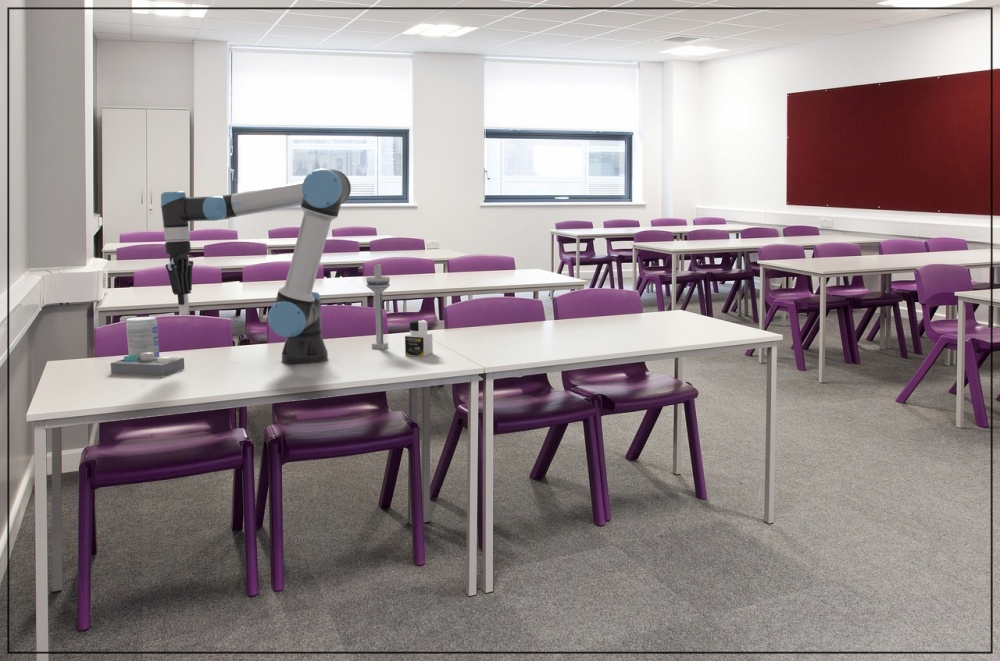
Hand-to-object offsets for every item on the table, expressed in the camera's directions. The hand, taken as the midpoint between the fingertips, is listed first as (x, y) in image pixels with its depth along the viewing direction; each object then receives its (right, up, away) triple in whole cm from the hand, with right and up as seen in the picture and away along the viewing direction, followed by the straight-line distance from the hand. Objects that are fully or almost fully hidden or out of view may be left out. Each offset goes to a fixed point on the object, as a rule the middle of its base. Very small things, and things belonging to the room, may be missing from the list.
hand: (184, 314), depth 285 cm
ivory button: (-4, -17, -5) cm, 18 cm away
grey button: (-10, -15, -4) cm, 19 cm away
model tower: (+58, -12, +35) cm, 69 cm away
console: (-10, -18, -3) cm, 21 cm away
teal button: (-16, -16, -2) cm, 23 cm away
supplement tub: (-18, -16, +13) cm, 27 cm away
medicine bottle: (+73, -14, +21) cm, 78 cm away
